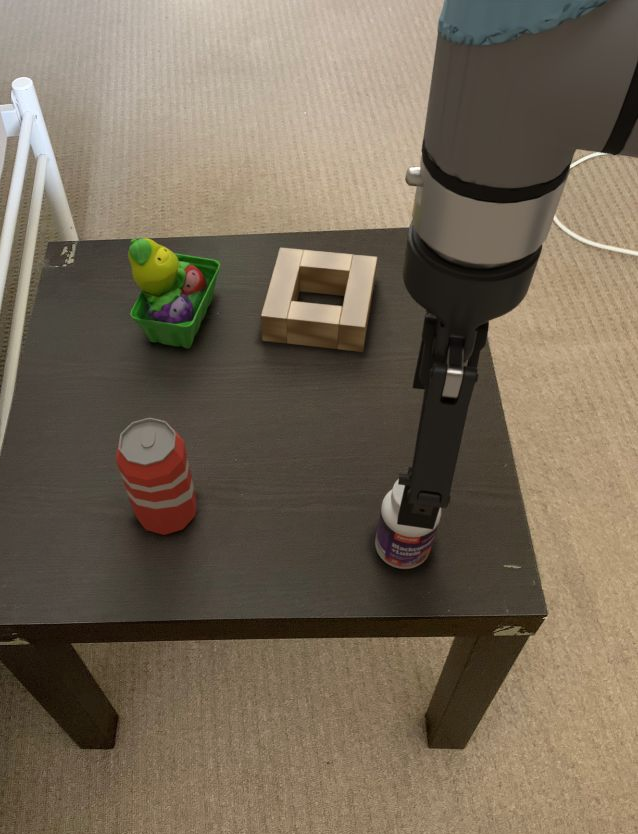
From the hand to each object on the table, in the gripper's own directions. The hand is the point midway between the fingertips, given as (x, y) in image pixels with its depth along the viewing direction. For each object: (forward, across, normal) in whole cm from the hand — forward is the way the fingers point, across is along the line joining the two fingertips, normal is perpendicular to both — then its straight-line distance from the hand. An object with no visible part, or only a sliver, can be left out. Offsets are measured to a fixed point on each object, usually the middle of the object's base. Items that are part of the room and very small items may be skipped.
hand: (422, 451), depth 60 cm
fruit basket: (+16, -27, -30) cm, 43 cm away
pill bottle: (+16, 0, 0) cm, 16 cm away
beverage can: (+16, 0, -24) cm, 29 cm away
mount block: (+16, -31, -13) cm, 37 cm away
